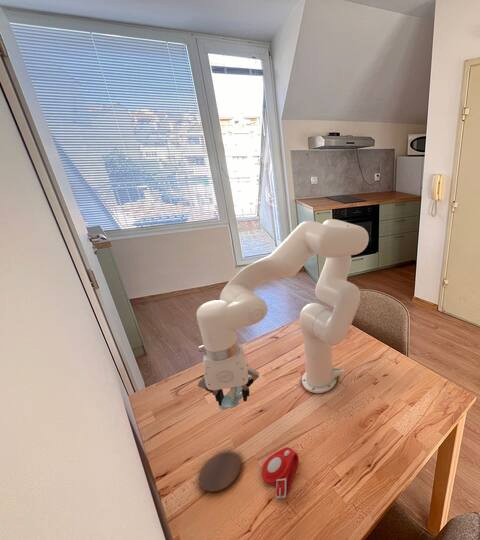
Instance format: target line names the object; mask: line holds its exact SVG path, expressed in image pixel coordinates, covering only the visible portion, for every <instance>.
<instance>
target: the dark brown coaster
mask: <svg viewBox="0 0 480 540" xmlns="http://www.w3.org/2000/svg"><path fill="white" fill-rule="evenodd" d="M241 469H242V463H241V459H240V457H239V456H238V455H237V454H236V453H234V452H231V451H227V452H221V453H218V454H216V455H214V456H213V457H211V458H210V459H208V460H207V462H206V463H205V464H204V465H203V467H202V469H201V471H200V472H199V477H198V482H199V485H200V487H201V489H202V490H203V491H204V492H206V493H209V494H217V493H220V492H223V491H225V490H227V489H228V488H230V487H231V486H232V485H233V484H234V483H235V482H236V480H237V479H238V477H239V475H240V473H241Z"/></svg>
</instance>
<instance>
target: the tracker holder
mask: <svg viewBox="0 0 480 540" xmlns="http://www.w3.org/2000/svg"><path fill="white" fill-rule="evenodd" d="M299 459H300V458H299V455H298V453H297V452H296V451H295V450H294V449H292V448H291V447H290V446H289V447H288V446H287V447H284V448H281V449H280V450H278V451H276V452H274V453H273V454H271V455H270V456H269V457H267V459H266V461H265V462H264V464H263V466H262V468H261V478H262V480H263V481H264V482H265V483H266V484H269V485H274V484H276V485H275V486H276V487H275V499H285V498H287V496H288V494H289V492H290V489H291V486H292V482H293V479H294V477H295V474H296V471H297V468H298V467H299V461H300V460H299Z"/></svg>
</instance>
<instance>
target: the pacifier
mask: <svg viewBox="0 0 480 540" xmlns="http://www.w3.org/2000/svg"><path fill="white" fill-rule="evenodd" d="M242 399H243V395H242V387H241V386H238V387H232V388H229V390H228V391H227V392H226V393H224V398H223V400H222V403H221V405H220V406H219V403H218V405H217V407H218V409H219V410H221V411H224V410H227V409H232V408H236V407H238V405H239V404H240V403H239V402H240V401H241V400H242Z"/></svg>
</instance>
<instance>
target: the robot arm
mask: <svg viewBox="0 0 480 540" xmlns="http://www.w3.org/2000/svg"><path fill="white" fill-rule="evenodd" d="M369 237H370V236H369V233H368V231H367V230H366V228H364V227H363V226H360V225H357V224H355V223H351V222H347V221H344V220H340V219H335V218H329V219H326V220H325V221H323V223H322V222H318V221H314V220H304V221H302V222H301V223H299V224H298V226H297V227H296V228H294V230H293V231H292V232H291V233H290V234H289V235H288V236H287V237H286V238H285V239H284V240H283V241H282V242H281V244H279V246H277V247H276V249H274V251H272V253H271V254H269V255H267V256H265V257H263V258H261V259H258V260H257V261H255V262H252V263H251V264H248V265H247V266H245V267H244V268H242V269H240V270H239V271H238V272H237V273H236V274H235V275H234V276H233V277H232V279H230V280H229V282H227V283H226V285H225V286H224V287H223V288H222V291H221V292H220V295H219V299H217V300H209V301H207V302H205V303H203V304H201V305H200V306H199V307H198V308H197V310H196V320H197V325H198V328H199V331H200V334H201V339H202V344H203V345H200V346H198V352H200V353H204V355H203V357H202V367H203V376H202V377H201V379H200V380H199V381H198V384H197V387H199V388H201V389H205V391H207V392H209V393H211V394H212V396H214V397H215V402H217V403H218V404H219V406H220V405H221V403H222V400H223V398H224V395H225V393H224V390H227V389H230V388H232V387H238V386H241V387H242V392H241V393H242V395H243V397H242V400H243V402H244V403H245V402H248V401H247V400H248V397H250V387H251V385H253V383H254V382H255V381H256V380H258V379H259V378H260V371H258V370H255V369H254V368H252V367H251V366H249V362H248V359H247V356H246V354H245V351H244V349H243V347H242V346H241V345H240V344H239V340H238V335H237V331H236V330H237V329H242V328H246V327H250V326H253V325H256V324H259V323H260V322H261V321H263V320H264V319H265V318H266V316H267V314H268V309H269V307H268V305H267V303H266V301H265V300H264V299H263V298H261V297H260V296H259V295H257V294H256V293H254V291H255V290H256V288H257V287H259V286H261V285H262V284H263V283H265V282H267V281H268V282H269V281H270V280H274V279H284V278H291V277H294V276H296V275H297V274H298V273H299V272H300V270H301V269H302V268H303V267H304V265H305V264H306V263H308V261H309V260H310V259H311V257H313V255H314V254H317V255H319V256H321V257H323V258H325V262H324V265H323V268H322V270H321V272H320V275H319V277H318V280H317V282H316V285H315V289H314V294H315V296H316V298H317V299H318V300H319V301H321V302H322V303H324V304H326V305H328V306H330V307H331V308H333V310H332V309H330V308H328V307H326V306H325V305H322V304H320V303H317V302H311V303H307V304H305V306H304V307H302V309H301V311H300V313H299V318H298V319H299V327H300V330H301V333H302V338H303V339H302V340H303V351H304V352H303V353H304V364H305V365H304V366H305V367H304V368H305V372H304V373H303V374H302V377H301V383H302V386H303V388H304V389H305V390H306V391H308V392H310V393H313V394H322V393H326V392H329V391H330V390H331V389H333V388H334V386H336V384H337V379H338V378H337V377H339V376H340V377H341V376H345V375H346V370H345V369H341V366H340V365H338V366H333V346H334V347H335V346H339V345H340V344H341V343H343V341H344V340H345V339H346V337H347V335H348V333H349V331H350V329H351V327H352V323H353V322H354V319H355V316H356V313H357V311H358V308H359V306H360V302H361V291H360V288H359V287H358V286H357V285H356V284H355V283H353V282H351V281H348V277H349V273H350V270H351V267H352V256H355V255H358V254H360V253H362V252H364V251H365V249H366V248H367V246H368V244H369V241H370V238H369Z"/></svg>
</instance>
